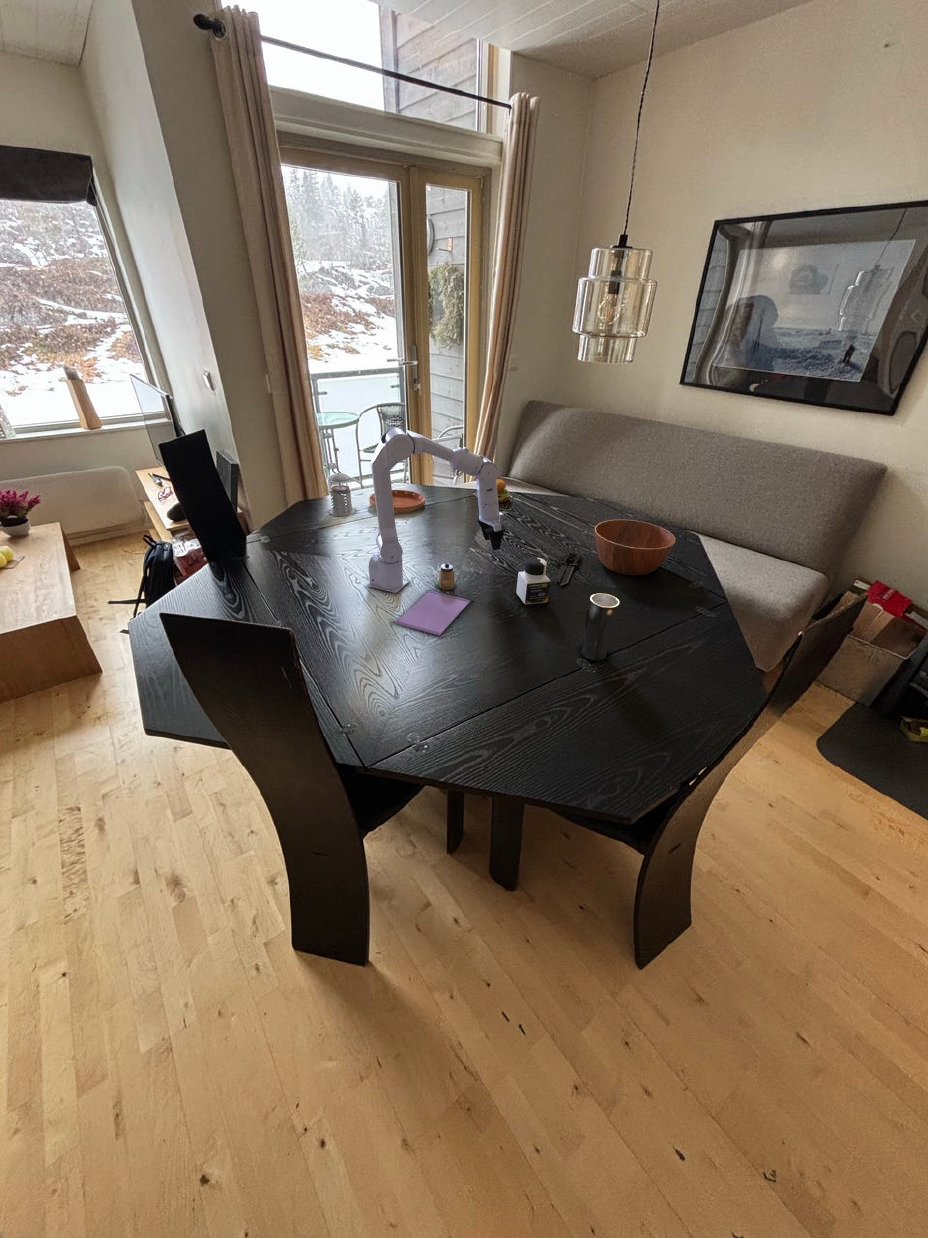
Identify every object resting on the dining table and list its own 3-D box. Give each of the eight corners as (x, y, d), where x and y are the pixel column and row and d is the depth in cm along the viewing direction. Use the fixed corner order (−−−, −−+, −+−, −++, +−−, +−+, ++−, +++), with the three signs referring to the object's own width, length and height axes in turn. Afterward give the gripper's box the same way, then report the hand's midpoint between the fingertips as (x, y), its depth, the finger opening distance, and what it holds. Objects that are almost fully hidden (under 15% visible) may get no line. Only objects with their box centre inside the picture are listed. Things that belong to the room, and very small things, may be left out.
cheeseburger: (515, 501, 218) (513, 479, 212) (495, 510, 215) (492, 488, 208) (502, 494, 225) (499, 473, 219) (482, 502, 222) (479, 482, 216)
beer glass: (587, 642, 126) (597, 589, 118) (613, 653, 122) (625, 599, 114) (574, 654, 121) (583, 600, 113) (600, 665, 118) (612, 611, 110)
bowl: (574, 563, 166) (579, 531, 160) (614, 544, 181) (620, 514, 175) (643, 591, 151) (651, 556, 145) (680, 567, 166) (689, 535, 160)
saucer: (404, 494, 222) (404, 486, 220) (435, 508, 207) (436, 499, 206) (359, 503, 209) (358, 495, 207) (389, 519, 195) (389, 510, 193)
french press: (347, 506, 206) (341, 443, 193) (361, 514, 199) (356, 449, 186) (325, 510, 201) (318, 446, 188) (339, 519, 193) (332, 452, 180)
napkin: (394, 623, 130) (394, 622, 130) (429, 591, 146) (429, 590, 146) (439, 636, 126) (439, 634, 126) (470, 601, 142) (470, 600, 142)
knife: (564, 588, 151) (565, 584, 150) (544, 583, 153) (544, 579, 152) (584, 557, 170) (585, 554, 169) (566, 554, 172) (567, 550, 172)
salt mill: (436, 587, 148) (436, 564, 144) (443, 581, 151) (443, 559, 148) (450, 591, 147) (450, 568, 143) (456, 584, 150) (457, 562, 146)
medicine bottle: (524, 605, 141) (529, 566, 135) (515, 593, 147) (519, 555, 140) (547, 602, 143) (553, 564, 136) (538, 591, 149) (543, 553, 142)
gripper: (510, 506, 138) (513, 550, 145) (493, 490, 150) (497, 532, 157) (485, 512, 137) (490, 556, 144) (470, 495, 149) (475, 537, 156)
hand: (492, 544), depth 151 cm, fingers open, 7 cm apart
